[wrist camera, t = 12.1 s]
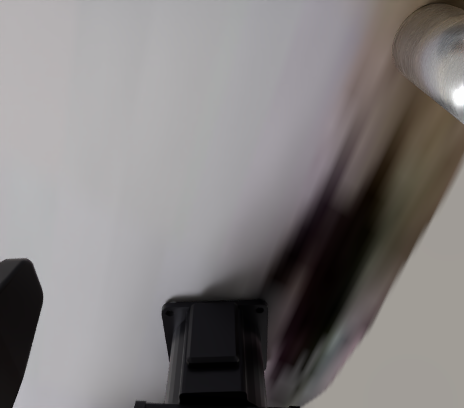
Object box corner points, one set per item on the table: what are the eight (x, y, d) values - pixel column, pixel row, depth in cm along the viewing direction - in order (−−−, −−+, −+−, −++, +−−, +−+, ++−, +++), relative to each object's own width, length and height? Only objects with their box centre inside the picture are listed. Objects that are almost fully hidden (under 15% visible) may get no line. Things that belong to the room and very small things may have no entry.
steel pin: (457, 79, 19) (539, 133, 14) (386, 81, 19) (444, 135, 14) (477, 2, 18) (579, 31, 13) (399, 4, 18) (470, 34, 13)
